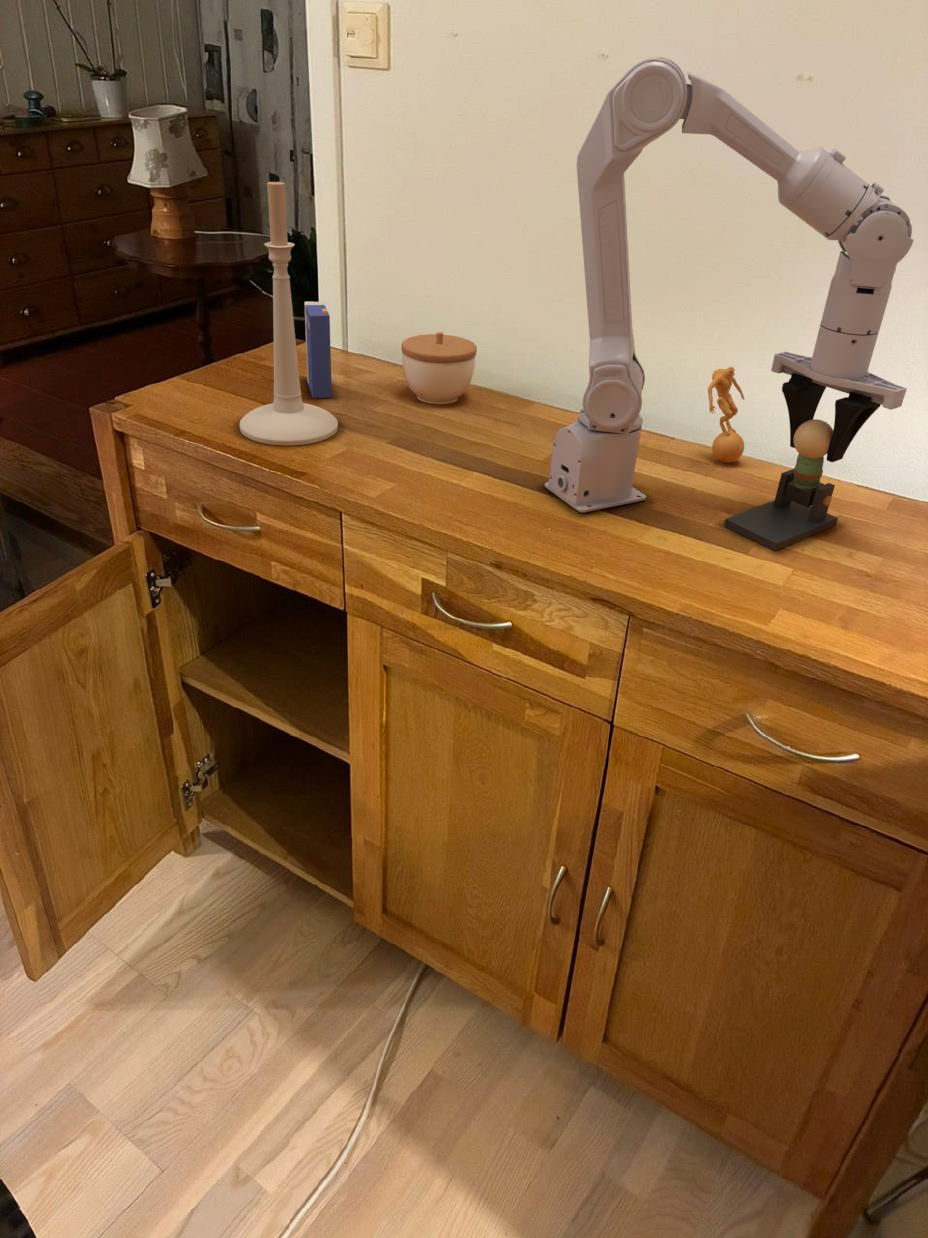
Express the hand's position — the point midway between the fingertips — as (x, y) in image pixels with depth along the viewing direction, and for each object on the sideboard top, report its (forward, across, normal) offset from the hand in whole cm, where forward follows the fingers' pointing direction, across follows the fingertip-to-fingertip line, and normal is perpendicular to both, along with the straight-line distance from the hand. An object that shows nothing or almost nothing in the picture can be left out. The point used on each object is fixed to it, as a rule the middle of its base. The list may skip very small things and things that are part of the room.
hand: (816, 452), depth 101 cm
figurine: (+8, +17, -6) cm, 20 cm away
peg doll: (+6, 0, 0) cm, 6 cm away
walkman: (+8, +66, +24) cm, 71 cm away
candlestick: (+8, +55, +36) cm, 66 cm away
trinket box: (+8, +54, +11) cm, 56 cm away
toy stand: (+8, 0, +3) cm, 9 cm away
